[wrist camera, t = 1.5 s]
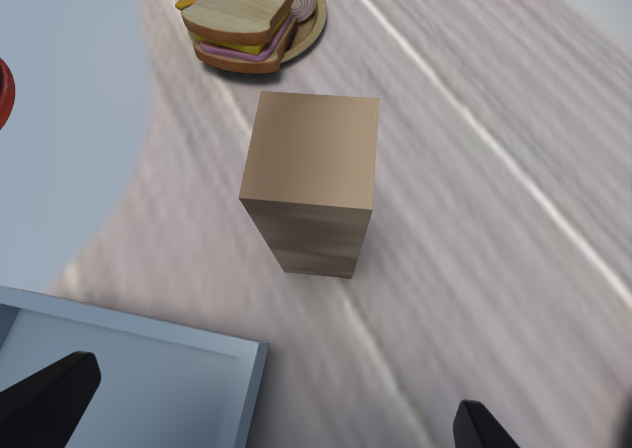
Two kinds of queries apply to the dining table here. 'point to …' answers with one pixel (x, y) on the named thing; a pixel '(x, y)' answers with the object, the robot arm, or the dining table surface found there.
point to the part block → (312, 179)
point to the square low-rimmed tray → (137, 372)
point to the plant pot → (6, 93)
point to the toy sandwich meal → (252, 31)
